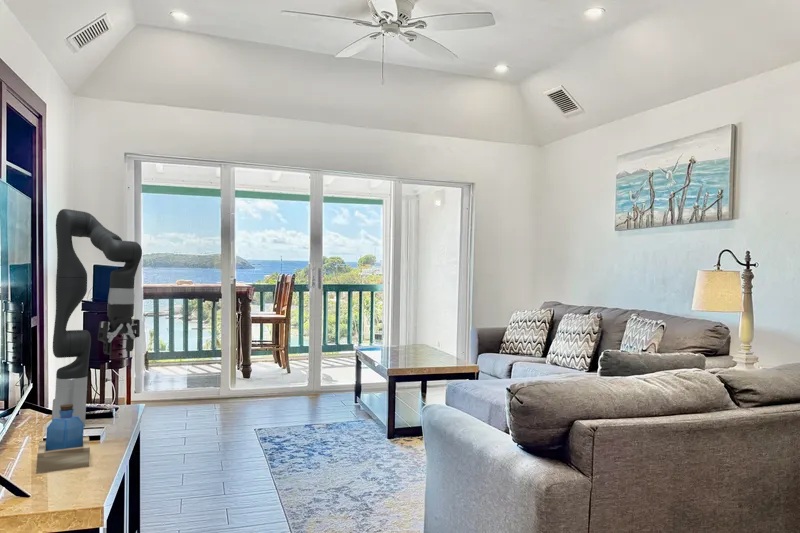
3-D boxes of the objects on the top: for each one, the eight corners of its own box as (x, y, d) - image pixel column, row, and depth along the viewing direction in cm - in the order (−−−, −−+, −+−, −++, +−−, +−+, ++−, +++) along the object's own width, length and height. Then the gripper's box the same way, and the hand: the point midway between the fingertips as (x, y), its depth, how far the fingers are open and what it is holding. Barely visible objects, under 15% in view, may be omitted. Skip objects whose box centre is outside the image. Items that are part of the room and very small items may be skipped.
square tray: (38, 459, 149) (39, 441, 149) (87, 453, 155) (88, 435, 155) (36, 473, 139) (37, 453, 139) (88, 466, 145) (89, 447, 145)
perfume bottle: (64, 453, 144) (66, 408, 144) (45, 450, 145) (48, 406, 145) (82, 446, 150) (84, 403, 150) (64, 444, 151) (66, 402, 151)
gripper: (129, 301, 177) (127, 349, 177) (93, 302, 164) (90, 354, 163) (147, 302, 175) (144, 351, 175) (111, 303, 161) (109, 356, 161)
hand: (118, 352), depth 169 cm, fingers open, 8 cm apart
